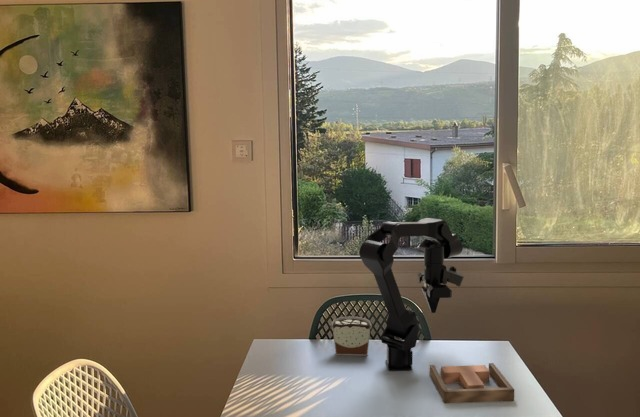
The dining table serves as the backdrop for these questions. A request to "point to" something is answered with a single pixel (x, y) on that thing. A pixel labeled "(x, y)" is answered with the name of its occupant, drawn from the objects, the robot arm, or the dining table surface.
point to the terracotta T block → (466, 375)
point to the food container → (351, 335)
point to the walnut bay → (474, 395)
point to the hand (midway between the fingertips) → (433, 312)
